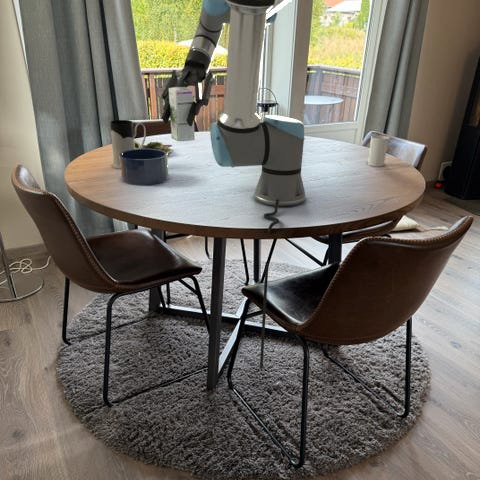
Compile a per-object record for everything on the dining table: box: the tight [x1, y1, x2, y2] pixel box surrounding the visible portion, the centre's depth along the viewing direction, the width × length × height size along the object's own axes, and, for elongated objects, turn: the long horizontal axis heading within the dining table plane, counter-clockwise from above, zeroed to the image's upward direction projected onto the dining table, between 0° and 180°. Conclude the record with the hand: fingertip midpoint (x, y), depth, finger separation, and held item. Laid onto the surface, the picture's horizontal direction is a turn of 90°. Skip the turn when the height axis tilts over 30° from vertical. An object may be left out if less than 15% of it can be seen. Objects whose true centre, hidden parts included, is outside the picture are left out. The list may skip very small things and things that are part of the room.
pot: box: [119, 149, 169, 186], centre depth 164 cm, size 15×15×8 cm
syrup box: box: [169, 87, 196, 142], centre depth 150 cm, size 6×6×14 cm
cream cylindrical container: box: [367, 134, 390, 167], centre depth 187 cm, size 7×7×10 cm
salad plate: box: [134, 140, 174, 156], centre depth 196 cm, size 19×18×5 cm
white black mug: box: [109, 119, 147, 170], centre depth 177 cm, size 9×14×15 cm, turn 135°
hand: (176, 122), depth 148 cm, fingers closed on syrup box, 8 cm apart
